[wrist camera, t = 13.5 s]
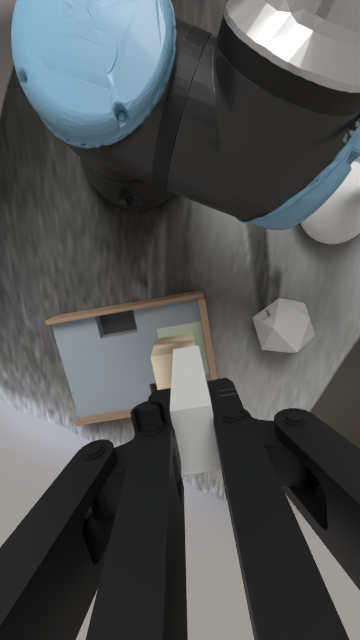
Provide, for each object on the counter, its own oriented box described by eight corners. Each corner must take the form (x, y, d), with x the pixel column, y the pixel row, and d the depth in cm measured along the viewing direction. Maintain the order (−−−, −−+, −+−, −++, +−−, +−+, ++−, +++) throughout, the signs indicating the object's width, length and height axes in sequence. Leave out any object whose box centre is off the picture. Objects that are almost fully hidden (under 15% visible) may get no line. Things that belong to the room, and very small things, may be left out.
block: (162, 373, 45) (159, 398, 38) (155, 338, 44) (150, 357, 36) (199, 367, 45) (203, 391, 37) (193, 332, 44) (196, 349, 36)
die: (297, 288, 45) (279, 285, 38) (331, 332, 43) (320, 339, 35) (257, 317, 50) (234, 319, 42) (286, 359, 47) (267, 370, 39)
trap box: (84, 412, 50) (72, 431, 44) (56, 315, 46) (40, 323, 40) (217, 390, 49) (222, 407, 43) (201, 289, 45) (204, 294, 39)
